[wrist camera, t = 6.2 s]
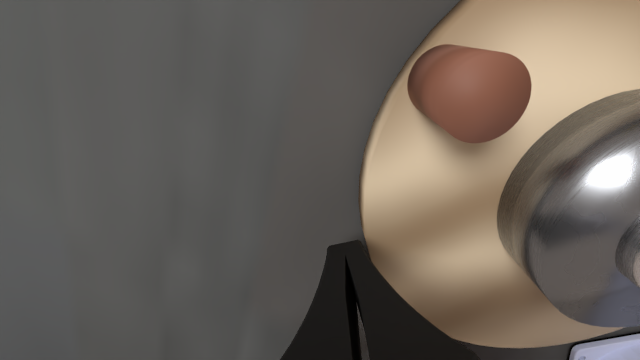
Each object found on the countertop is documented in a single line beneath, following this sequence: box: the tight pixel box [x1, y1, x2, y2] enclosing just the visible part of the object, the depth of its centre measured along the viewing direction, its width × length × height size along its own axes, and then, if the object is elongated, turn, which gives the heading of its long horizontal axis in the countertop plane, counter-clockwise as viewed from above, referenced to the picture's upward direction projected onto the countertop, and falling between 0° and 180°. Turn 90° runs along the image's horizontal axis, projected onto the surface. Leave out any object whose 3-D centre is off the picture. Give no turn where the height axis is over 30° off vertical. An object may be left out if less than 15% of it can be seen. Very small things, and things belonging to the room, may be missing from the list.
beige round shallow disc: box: [359, 0, 640, 348], centre depth 13 cm, size 20×20×4 cm
